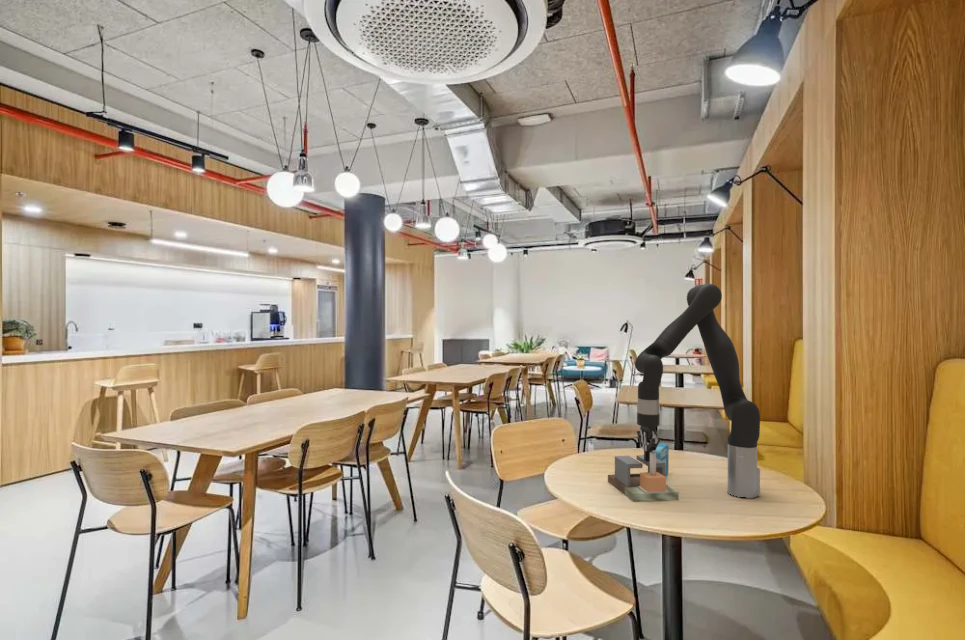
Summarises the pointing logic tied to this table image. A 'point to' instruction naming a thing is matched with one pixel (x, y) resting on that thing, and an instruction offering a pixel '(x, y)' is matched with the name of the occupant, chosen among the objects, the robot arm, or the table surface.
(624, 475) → the tunnel
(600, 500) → the table surface
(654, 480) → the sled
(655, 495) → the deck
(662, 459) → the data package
